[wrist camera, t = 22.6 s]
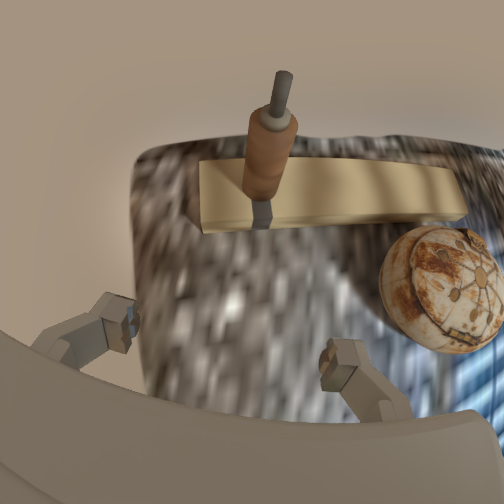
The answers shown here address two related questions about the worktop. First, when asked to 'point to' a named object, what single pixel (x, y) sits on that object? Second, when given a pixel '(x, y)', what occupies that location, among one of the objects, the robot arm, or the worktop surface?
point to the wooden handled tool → (269, 142)
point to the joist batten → (329, 195)
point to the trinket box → (443, 289)
